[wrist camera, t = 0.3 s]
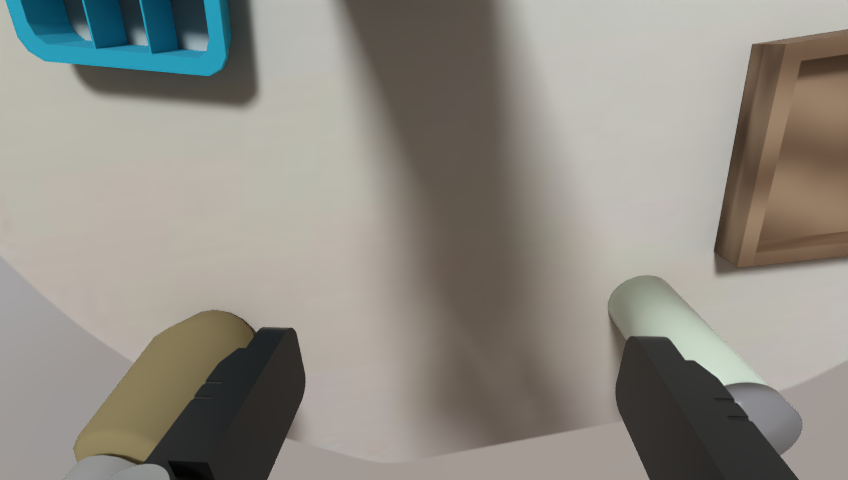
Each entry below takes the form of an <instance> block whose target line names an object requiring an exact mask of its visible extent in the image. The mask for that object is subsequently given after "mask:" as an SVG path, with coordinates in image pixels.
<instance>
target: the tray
mask: <svg viewBox="0 0 848 480" xmlns="http://www.w3.org/2000/svg"><path fill="white" fill-rule="evenodd" d="M714 251H715V252H716V253H717V254H719V255H720V256H721V257H723V258H724V259H726V260H727V261H728V262H730V263H731V264H732V265H734V266H735V267H737V268H740V267H749V266H759V265H768V264H777V263H786V262H795V261H804V260H814V259H823V258H832V257H841V256H848V29H847V30H841V31H834V32H828V33H822V34H815V35H809V36H802V37H796V38H790V39H783V40H777V41H770V42H764V43H758V44H753V45H752V51H751V56H750V61H749V67H748V72H747V78H746V83H745V88H744V94H743V99H742V104H741V110H740V115H739V120H738V126H737V131H736V137H735V142H734V147H733V153H732V158H731V163H730V169H729V174H728V180H727V185H726V190H725V196H724V201H723V206H722V212H721V217H720V222H719V228H718V233H717V239H716V244H715V249H714Z"/></svg>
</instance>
